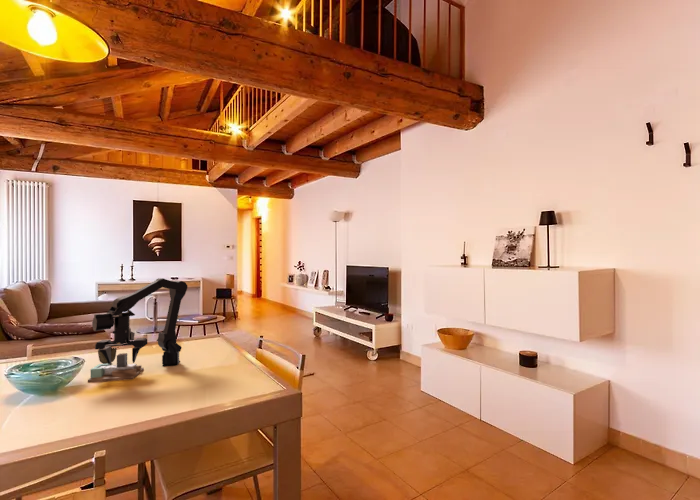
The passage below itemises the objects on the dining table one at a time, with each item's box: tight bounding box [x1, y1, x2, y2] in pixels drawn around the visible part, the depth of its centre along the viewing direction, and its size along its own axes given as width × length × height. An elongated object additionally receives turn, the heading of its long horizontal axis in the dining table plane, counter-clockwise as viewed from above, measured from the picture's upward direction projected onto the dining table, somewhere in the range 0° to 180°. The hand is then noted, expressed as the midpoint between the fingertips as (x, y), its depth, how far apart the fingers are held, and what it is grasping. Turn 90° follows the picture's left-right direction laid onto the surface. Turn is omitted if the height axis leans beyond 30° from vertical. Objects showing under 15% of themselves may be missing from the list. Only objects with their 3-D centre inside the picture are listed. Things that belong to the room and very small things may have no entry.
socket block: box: [90, 363, 109, 378], centre depth 159 cm, size 4×8×4 cm, turn 11°
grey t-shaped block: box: [99, 352, 137, 375], centre depth 160 cm, size 14×4×8 cm, turn 101°
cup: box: [97, 347, 118, 366], centre depth 175 cm, size 8×7×8 cm
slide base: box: [87, 364, 145, 383], centre depth 160 cm, size 17×13×3 cm
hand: (121, 363), depth 160 cm, fingers open, 9 cm apart
